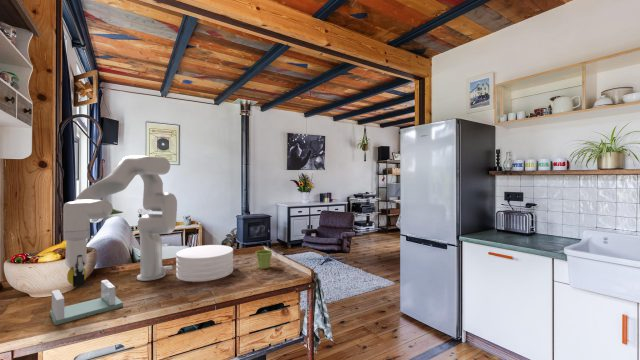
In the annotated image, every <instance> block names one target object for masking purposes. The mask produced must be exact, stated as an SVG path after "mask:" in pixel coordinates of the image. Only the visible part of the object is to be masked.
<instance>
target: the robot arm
mask: <svg viewBox="0 0 640 360" xmlns="http://www.w3.org/2000/svg"><path fill="white" fill-rule="evenodd" d="M170 170H171V163H170V161H169V160H168V159H167V158H166V157H162V156H161V157H160V156H151V155H150V156H148V155H128V156H124V157H123V158H121V159H120V160H119V162H117V164H116V165H115V166H114V167H113V168H112V170H111V171H110V172H109V173H108V174H107V176H105V177H104V178H102V179H100V180H98V181H96V182H95V183H93V184H91V185H89V186H88V187H86V188H84V189H83V190H82V191H81V192H80V193H79V194H78V195H77V196H76V198H75V199H74V200H73V201H68V202H65V203H64V204H63V207H62V208H63V210H62V211H63V213H62V214H63V216H62V218H63V221H62V223H63V225H62V227H63V230H62V231H63V241H65V242H66V243H65V257H64V258H65V261H64V263H65V266H66V267H68V268H69V270H70V269H71V268H72V267H74V276H73V285H72V287H73V288H76V287H80V286H84V285H85V280H84V268H85V267H86V265H87V260H88V259H87V257H88V256H87V240H88V239H89V238H90V236H91V235H90V234H91V233H90V232H91V231H90V229H91V228H90V223H91V222H90V220H94V219H96V220H97V219H100V220H101V219H105V218H107V217H109V216H110V215H111V214H112V212H113V210H114V207H113V205H112V203H111V202H110V201H108V200H107V199H106V200H105V199H103V198H105V197H107V196H111V195H114V194H118V193H119V192H122V191H124V190H126V188H127V187H128V186H129V184H131V182H132V180H133V179H134V178H135V177H136V176H140V177H141V180H142V182H143V197H142V207H143V209H144V210H145V211H147V212H161V214H159V213H146V214H144V215H142V216H141V217H139V218H138V221H137V229H138V233H139V240H140V242H139V243H140V244H139V245H140V246H139V247H140V250H139V251H140V252H139V253H140V255H139V256H140V257H139V258H140V260H139V261H140V265H139V266H140V274H138V275H136V279H137V281H143V282H144V281H145V282H146V281H147V282H150V281H155V280H159V279H161V278H164V277H165V276H166V271H171V270H173V265H165V266H164V265H163V239H162V238H161V235H160V234H168V235H169V234H171V233H173V232H174V231H175V229H176V225H177V215H178V213H177V212H178V200H177V197H176V195H175V194H174V193H171V192H164V188H163V187H164V183H163V180H162V178H161V176H160V175H162V176H163V175H167V174H168V173H169V171H170ZM75 265H78V266H77V267H75ZM77 268H78V269H77ZM76 269H77V270H76Z"/></svg>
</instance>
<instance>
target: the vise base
mask: <svg viewBox="0 0 640 360" xmlns="http://www.w3.org/2000/svg"><path fill="white" fill-rule="evenodd" d="M123 307H124V302H123V301H122V300H121V299H120V298H118V296H117V295H115V304H113V305H110V306H109V305H108V304H107V303H106V302H105V301H104V300H103V298H102V297H99V298H94V299H92V300H86V301H83V302H78V303H74V304H71V305H66V306H65V297H64V295H63V294H62V292H61V291H60V289H54V290H51V309H50V310H49V315H50V318H51V320H52V322H53V324H54V326H58V325H61V324H64V323H68V322H72V321H76V320H79V319H83V318H86V316H87V317H91V316H93V315H96V314H97V313H98V314H102V313H104V312H109V311H112V310H116V309H120V308H123ZM108 310H109V311H108ZM90 315H91V316H90Z"/></svg>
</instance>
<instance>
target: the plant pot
mask: <svg viewBox="0 0 640 360" xmlns="http://www.w3.org/2000/svg"><path fill="white" fill-rule="evenodd" d="M272 253H273V250H270V249H263V250H257V251H255V253H254V254H255V256H256V260H257V267H258V268H259V269H261V270H264V269H266V270H267V269H269V268H270V266H271V258H272V255H273V254H272Z"/></svg>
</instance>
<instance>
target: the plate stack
mask: <svg viewBox="0 0 640 360" xmlns="http://www.w3.org/2000/svg"><path fill="white" fill-rule="evenodd" d="M175 255H176V258H175V261H176V262H175V264H176V265H175V266H176V268H175V270H176V273H175V274H176V275H175V277H176V279H178V280H180V281H184V282H207V281H213V280H218V279H221V278H225V277H227V276H229V275H231V274H232V273H233V271H234V247H231V246H229V245H223V244H207V245H206V244H205V245H197V246H191V247H186V248H184V249H180V250H179V251H177V252H176V254H175Z"/></svg>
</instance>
